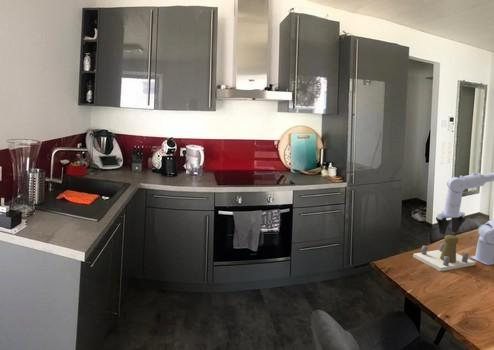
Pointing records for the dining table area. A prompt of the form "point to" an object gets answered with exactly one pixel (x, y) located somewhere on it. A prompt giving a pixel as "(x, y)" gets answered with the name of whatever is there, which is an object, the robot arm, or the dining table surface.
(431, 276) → the dining table surface
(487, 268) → the dining table surface
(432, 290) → the dining table surface
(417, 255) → the peg board
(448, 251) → the olive rounded cylinder
